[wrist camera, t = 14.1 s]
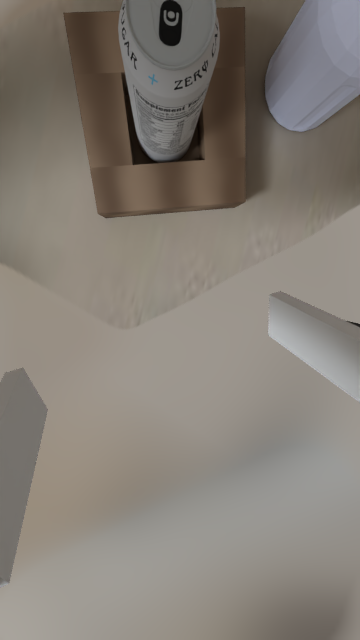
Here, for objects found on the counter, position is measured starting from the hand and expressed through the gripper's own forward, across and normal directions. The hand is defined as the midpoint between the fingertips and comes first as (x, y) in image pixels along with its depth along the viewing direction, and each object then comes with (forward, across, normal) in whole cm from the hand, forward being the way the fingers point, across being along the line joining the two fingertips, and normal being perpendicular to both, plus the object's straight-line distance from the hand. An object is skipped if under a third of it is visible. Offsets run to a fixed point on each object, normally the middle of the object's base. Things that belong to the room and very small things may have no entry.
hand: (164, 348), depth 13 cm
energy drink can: (+22, +8, +13) cm, 26 cm away
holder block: (+22, +8, +13) cm, 27 cm away
